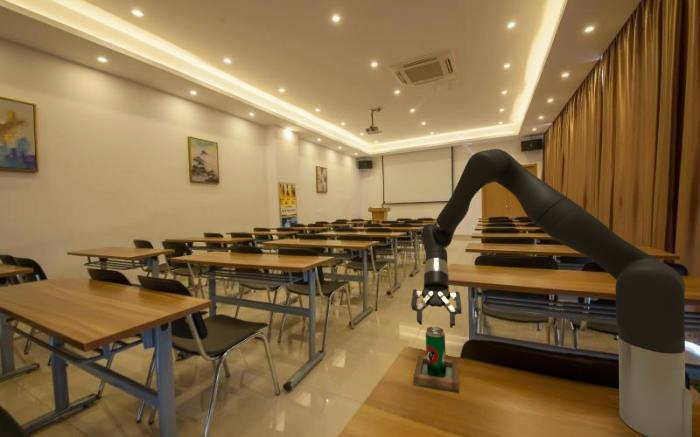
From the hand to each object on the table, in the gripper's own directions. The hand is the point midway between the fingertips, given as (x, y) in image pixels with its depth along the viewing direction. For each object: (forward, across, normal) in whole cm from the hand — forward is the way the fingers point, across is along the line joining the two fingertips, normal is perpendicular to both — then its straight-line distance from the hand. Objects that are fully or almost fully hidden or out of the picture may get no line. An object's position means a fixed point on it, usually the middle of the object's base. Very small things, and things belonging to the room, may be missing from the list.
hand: (435, 325), depth 82 cm
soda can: (+11, 0, +5) cm, 13 cm away
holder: (+12, 0, +6) cm, 13 cm away
